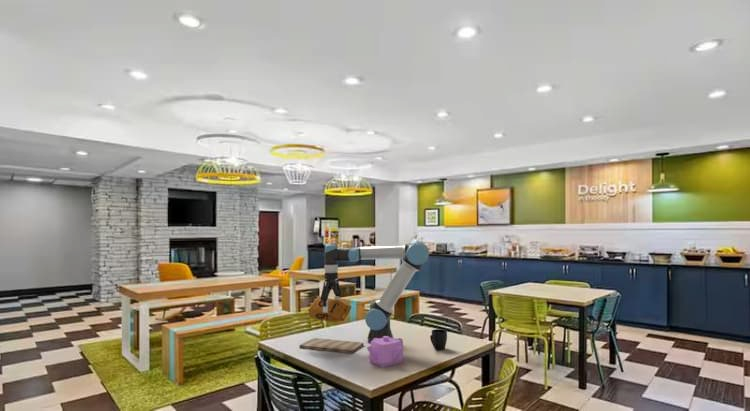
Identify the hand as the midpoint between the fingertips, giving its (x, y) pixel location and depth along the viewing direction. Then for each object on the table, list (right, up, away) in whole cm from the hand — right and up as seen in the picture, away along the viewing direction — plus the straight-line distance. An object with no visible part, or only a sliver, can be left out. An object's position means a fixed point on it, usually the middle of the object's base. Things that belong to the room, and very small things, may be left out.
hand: (331, 310), depth 228 cm
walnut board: (0, -20, -1) cm, 20 cm away
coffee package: (-11, +1, +4) cm, 12 cm away
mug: (+59, -19, -9) cm, 62 cm away
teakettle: (+30, -19, -29) cm, 46 cm away
